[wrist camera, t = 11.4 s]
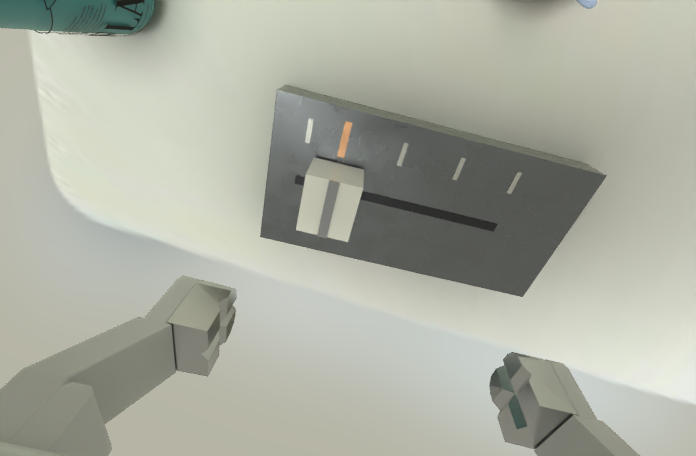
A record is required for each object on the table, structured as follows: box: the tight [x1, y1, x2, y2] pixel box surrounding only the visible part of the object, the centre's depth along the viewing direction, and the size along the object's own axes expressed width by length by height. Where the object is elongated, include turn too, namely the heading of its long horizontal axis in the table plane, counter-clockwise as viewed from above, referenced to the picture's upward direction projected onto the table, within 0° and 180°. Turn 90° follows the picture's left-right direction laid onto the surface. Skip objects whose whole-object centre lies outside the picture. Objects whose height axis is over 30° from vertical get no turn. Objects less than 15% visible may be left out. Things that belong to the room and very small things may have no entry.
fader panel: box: [260, 85, 606, 297], centre depth 31 cm, size 28×14×3 cm, turn 77°
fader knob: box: [296, 157, 364, 242], centre depth 27 cm, size 4×5×4 cm
